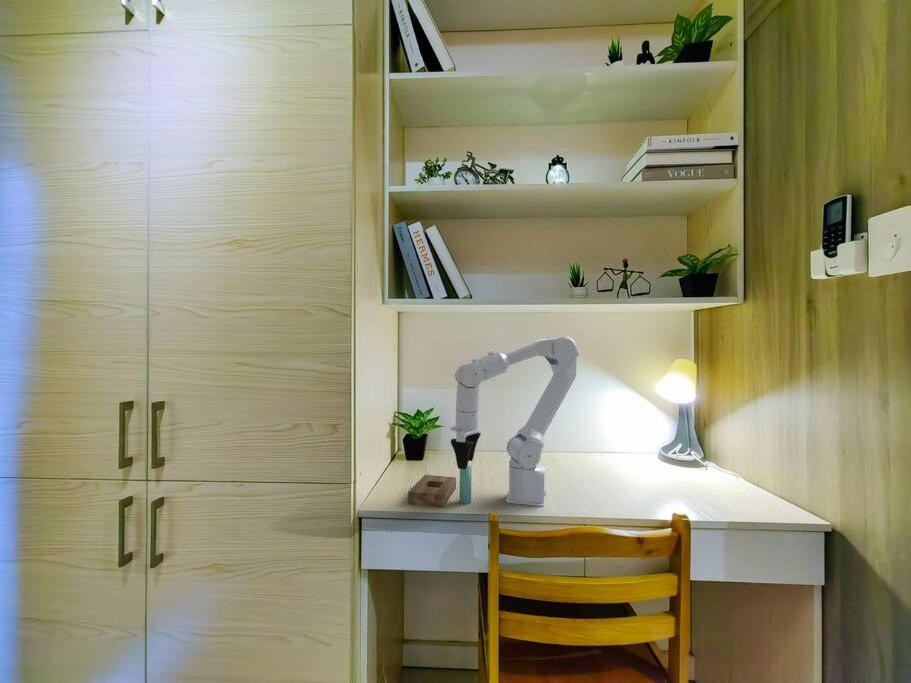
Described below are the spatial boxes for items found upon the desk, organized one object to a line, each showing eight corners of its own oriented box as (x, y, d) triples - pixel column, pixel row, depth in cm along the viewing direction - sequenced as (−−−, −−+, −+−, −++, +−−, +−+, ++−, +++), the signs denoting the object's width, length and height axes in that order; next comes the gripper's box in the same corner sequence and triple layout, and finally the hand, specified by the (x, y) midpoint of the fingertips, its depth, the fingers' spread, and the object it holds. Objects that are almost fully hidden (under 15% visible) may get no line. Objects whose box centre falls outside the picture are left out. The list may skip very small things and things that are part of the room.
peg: (472, 500, 108) (472, 465, 108) (469, 504, 105) (470, 468, 105) (460, 499, 109) (461, 464, 109) (458, 503, 106) (458, 467, 106)
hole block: (455, 488, 117) (456, 477, 117) (443, 507, 103) (443, 495, 103) (424, 485, 119) (425, 474, 119) (408, 503, 105) (408, 491, 105)
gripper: (458, 405, 115) (456, 455, 115) (444, 414, 101) (442, 470, 101) (483, 407, 114) (482, 458, 114) (473, 416, 100) (471, 473, 100)
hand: (465, 464), depth 107 cm, fingers open, 7 cm apart
